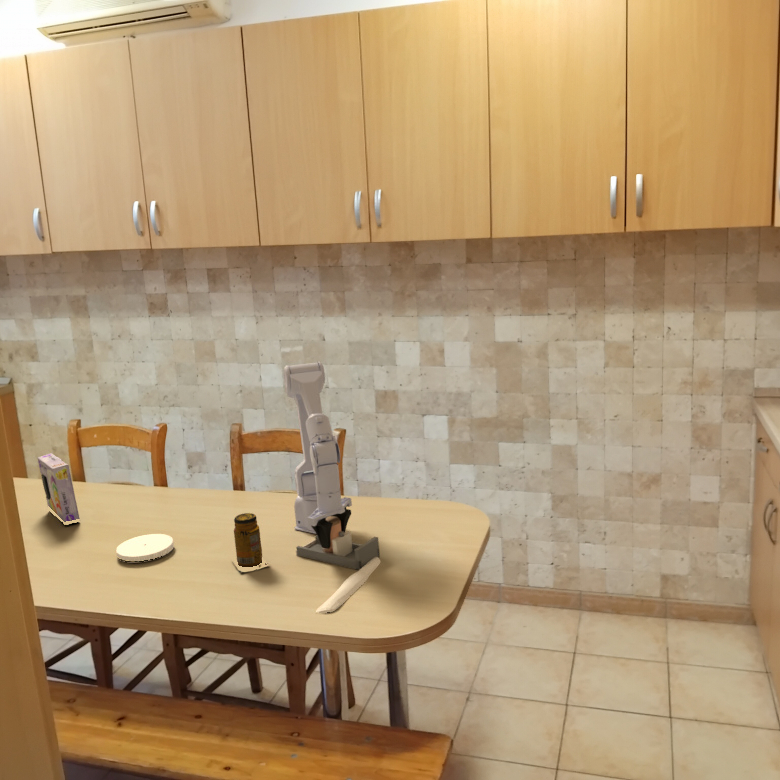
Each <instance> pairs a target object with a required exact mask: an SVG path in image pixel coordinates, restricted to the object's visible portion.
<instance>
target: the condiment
mask: <svg viewBox="0 0 780 780" xmlns="http://www.w3.org/2000/svg"><path fill="white" fill-rule="evenodd" d="M233 522H234V528H233V535H234V545H235V552H236V553H235V554H236V560H237V562H238V565H239V566H242V567H253V566H257V565H259V564H260V563H262V557H263V548H262V542H261V532H260V526H259V525H258V520H257V516H256V514H254V513H253V512H252V513H251V512H245V513H240V514H237V515H236V516H235V517H234V519H233ZM267 564H269V563H268V562H267ZM267 564H266V563H265V565H267Z"/></svg>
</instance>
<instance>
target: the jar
mask: <svg viewBox="0 0 780 780" xmlns="http://www.w3.org/2000/svg"><path fill="white" fill-rule="evenodd" d="M326 520H327V522H331V523H333V524H332V528H331V534H330V541H331V544H330V548H329V549H326V548H322V551H323V552H328V553H332V554H333V544H332V540H333V539H335V538H336V537H338V536H339V532H340V531H341V521H340V519H339V518H338V517H335V516H330V517H327V518H326Z"/></svg>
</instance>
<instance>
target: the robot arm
mask: <svg viewBox="0 0 780 780" xmlns="http://www.w3.org/2000/svg"><path fill="white" fill-rule="evenodd" d="M283 380H284V387H285V393H286V396H287V397H288V398H292V399H293V401H294V402H295V405H296V412H297V417H298V425H299V434H300V440H301V448H302V457H303V460H302V461H301V462H300V463H299V464H298V465H297V466H296V467H295V469H294V476H295V477H294V483H295V489H296V493H297V496H296V498H295V500H294V515H295V527H294V530H297V531H302V532H307V533H311V534H315V535H317V536H318V538H319V541H320V543H321V546H322V548H326V549H329V548H330V544H331V541H330V534H331V528H332V524H333V523H331V522H327V520H326V518H327V517H330V516H335V517H338V518H339V519H340V521H341V531H343V532H344V533H345V532H346V530H347V526H348V523H349V520H350V517H351V515H352V510H351V509H347V507H351V506H353V504H352V502H353V501H352V497H347V496H345V497H342V495H341V493H342V492H341V481H340V471H339V464H340V463H341V450H340V446H339V443H338V440H337V439H336V436H335V435H334V434H333V431H332V428H331V427H332V426H331V423H330V419H329V416H327V415H325V414H324V413H323V407H322V402H321V396H320V395H321V394H320V393H322V390H323V388H324V384H325V381H326V375H325V368H324V365H323V363H322V362H321V361H317V362H310V363H300V364H294V365H293V364H291V365H288V364H287V365H285V366H284V367H283Z"/></svg>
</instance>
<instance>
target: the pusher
mask: <svg viewBox="0 0 780 780" xmlns="http://www.w3.org/2000/svg"><path fill="white" fill-rule="evenodd" d="M352 543H353V541H352V532H351V531H345V533H344V532H343V531H340V532H339V536H338V537H336V538H335V539H333V540H332V544H333V554H336V555H341V556H346V555H347V554H349V553H351V552H352Z"/></svg>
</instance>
